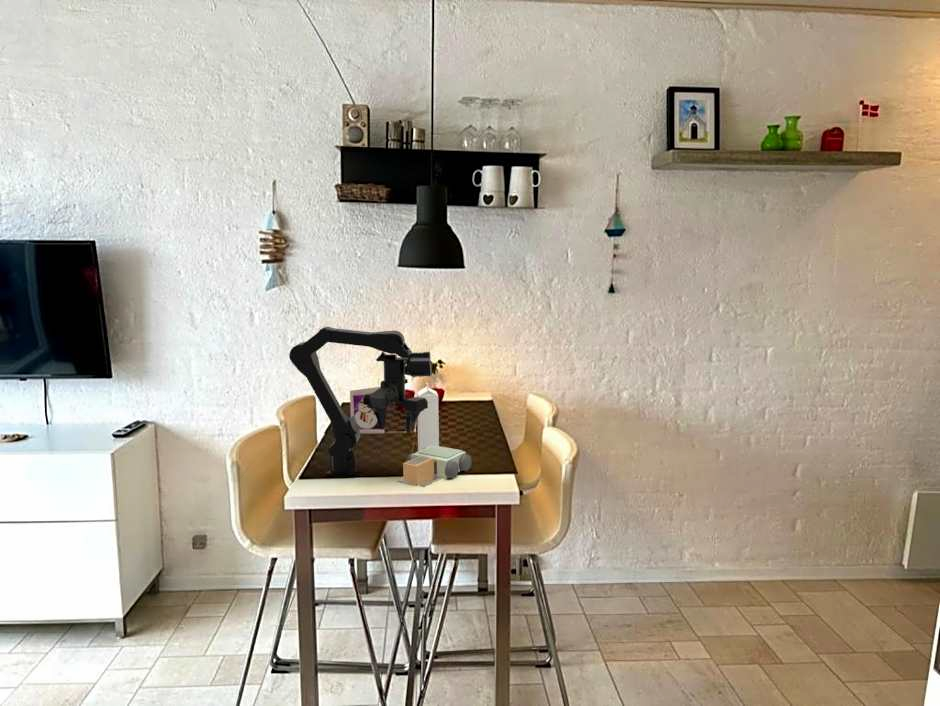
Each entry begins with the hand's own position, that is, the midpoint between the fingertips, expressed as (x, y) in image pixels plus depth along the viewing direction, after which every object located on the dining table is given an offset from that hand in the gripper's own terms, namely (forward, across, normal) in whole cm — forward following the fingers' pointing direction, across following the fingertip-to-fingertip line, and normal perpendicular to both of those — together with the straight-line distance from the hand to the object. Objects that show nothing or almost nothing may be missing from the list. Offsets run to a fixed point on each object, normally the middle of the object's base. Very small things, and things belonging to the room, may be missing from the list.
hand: (395, 431), depth 187 cm
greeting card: (+12, -36, +31) cm, 49 cm away
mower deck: (+12, +9, +8) cm, 17 cm away
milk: (+12, -3, +20) cm, 24 cm away
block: (+12, +9, -2) cm, 15 cm away
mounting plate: (+12, +9, -1) cm, 15 cm away
